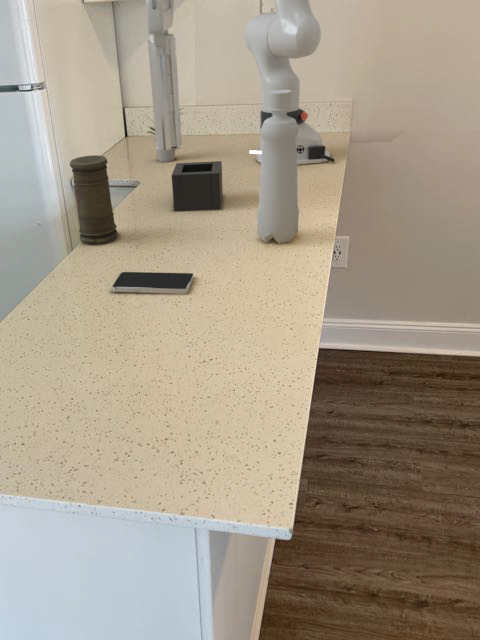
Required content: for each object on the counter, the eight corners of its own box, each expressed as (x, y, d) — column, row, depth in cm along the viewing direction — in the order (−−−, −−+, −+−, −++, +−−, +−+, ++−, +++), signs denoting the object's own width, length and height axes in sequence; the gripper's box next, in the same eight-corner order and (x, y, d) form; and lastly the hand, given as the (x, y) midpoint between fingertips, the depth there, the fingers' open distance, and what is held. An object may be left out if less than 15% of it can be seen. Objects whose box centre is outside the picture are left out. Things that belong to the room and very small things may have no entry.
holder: (222, 195, 182) (221, 161, 176) (220, 209, 172) (219, 173, 167) (178, 197, 183) (176, 163, 178) (174, 211, 173) (171, 175, 168)
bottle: (302, 233, 153) (308, 87, 136) (291, 247, 146) (295, 95, 129) (264, 230, 156) (265, 87, 139) (251, 243, 150) (250, 95, 133)
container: (123, 232, 162) (114, 154, 152) (108, 246, 155) (98, 164, 145) (90, 231, 165) (79, 154, 154) (73, 244, 158) (61, 164, 148)
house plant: (200, 156, 220) (197, 101, 211) (177, 166, 211) (174, 110, 202) (164, 153, 227) (160, 100, 218) (140, 163, 218) (135, 108, 208)
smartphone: (186, 289, 129) (111, 287, 132) (186, 294, 130) (112, 293, 132) (193, 272, 135) (121, 271, 138) (193, 278, 136) (122, 276, 139)
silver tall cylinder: (182, 144, 173) (176, 32, 159) (180, 150, 168) (173, 34, 153) (157, 145, 174) (149, 34, 159) (154, 151, 168) (145, 36, 154)
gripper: (166, -17, 142) (171, 57, 150) (176, -20, 159) (179, 47, 166) (137, -15, 143) (143, 59, 151) (149, -18, 159) (154, 49, 167)
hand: (162, 53), depth 159 cm, fingers closed on silver tall cylinder, 6 cm apart
